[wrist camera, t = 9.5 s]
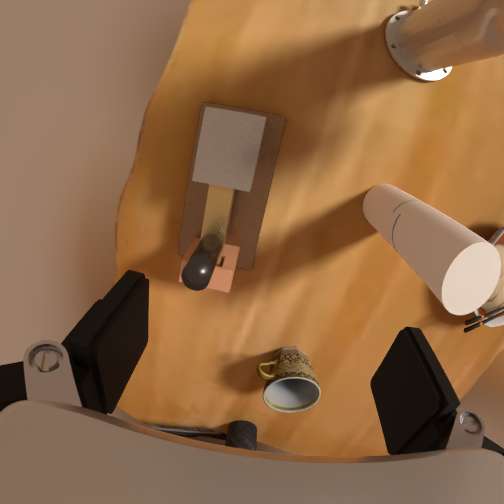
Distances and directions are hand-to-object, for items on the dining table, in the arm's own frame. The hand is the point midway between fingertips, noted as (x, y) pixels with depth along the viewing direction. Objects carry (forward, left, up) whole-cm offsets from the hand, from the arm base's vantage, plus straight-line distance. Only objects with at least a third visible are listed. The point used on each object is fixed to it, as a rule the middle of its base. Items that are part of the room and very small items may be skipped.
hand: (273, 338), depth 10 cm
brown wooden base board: (+3, -6, -36) cm, 36 cm away
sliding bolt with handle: (+6, -6, -30) cm, 31 cm away
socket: (+13, -6, -35) cm, 38 cm away
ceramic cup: (+32, +10, -36) cm, 49 cm away
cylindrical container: (0, +18, -36) cm, 40 cm away
